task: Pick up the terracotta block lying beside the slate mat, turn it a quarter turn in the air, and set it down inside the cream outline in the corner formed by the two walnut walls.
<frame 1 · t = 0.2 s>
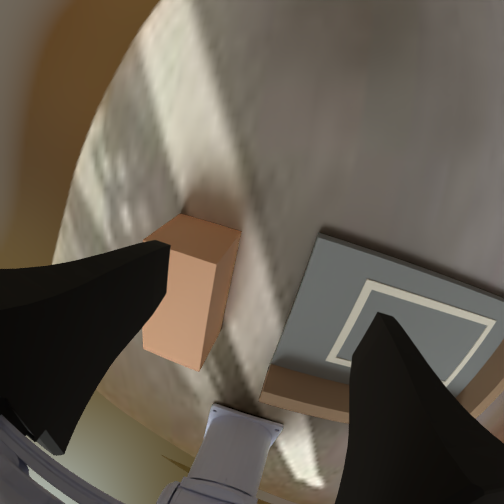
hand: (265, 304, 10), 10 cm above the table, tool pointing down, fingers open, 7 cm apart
terracotta block: (202, 276, 22), on the table
arena: (408, 345, 20), on the table
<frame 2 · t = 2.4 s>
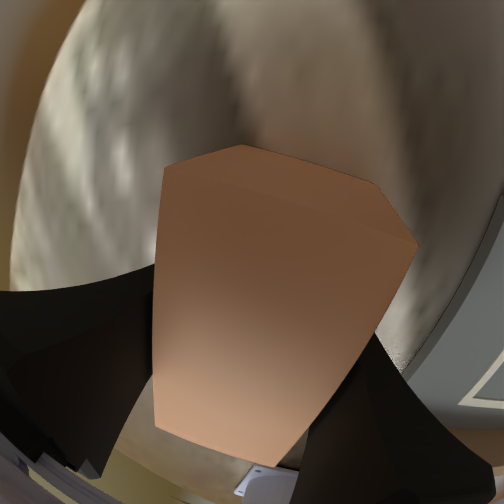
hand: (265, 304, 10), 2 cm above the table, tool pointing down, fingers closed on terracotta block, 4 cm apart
terracotta block: (274, 280, 11), on the table, touching gripper
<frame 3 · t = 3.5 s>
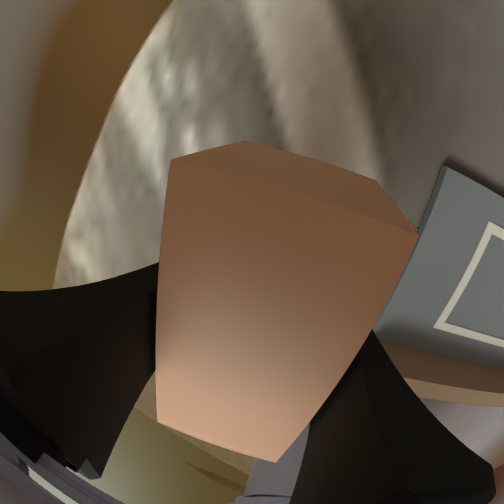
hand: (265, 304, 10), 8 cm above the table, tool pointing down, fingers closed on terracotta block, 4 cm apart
terracotta block: (275, 275, 11), point 6 cm above the table, touching gripper
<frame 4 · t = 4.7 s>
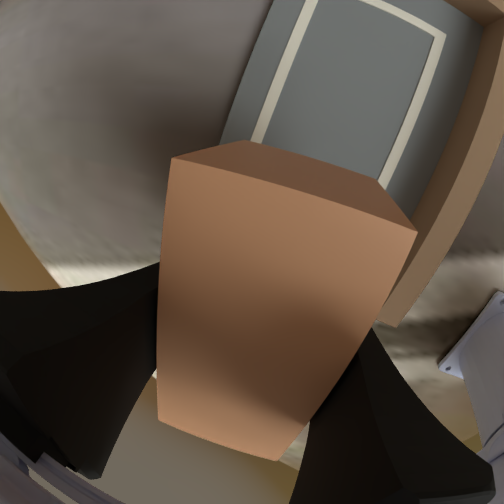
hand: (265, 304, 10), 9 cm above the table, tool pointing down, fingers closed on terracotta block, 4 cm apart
terracotta block: (276, 274, 11), point 7 cm above the table, touching gripper
arena: (365, 99, 14), on the table
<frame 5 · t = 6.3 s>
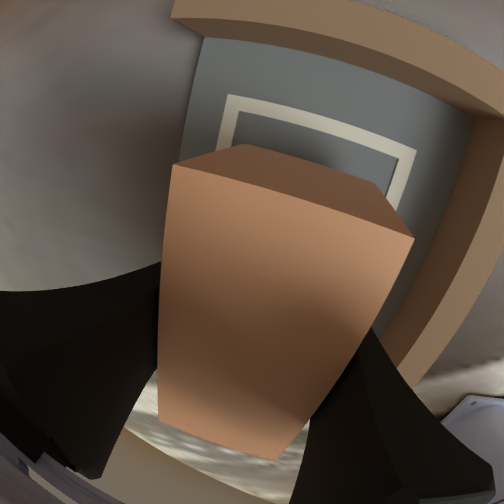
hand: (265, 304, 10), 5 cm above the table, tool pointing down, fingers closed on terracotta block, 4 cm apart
terracotta block: (275, 276, 11), point 3 cm above the table, touching gripper
arena: (306, 254, 14), on the table
when the fingers open (4 cm above the table, at t = 7.3 s): terracotta block drops 1 cm, resting on arena.
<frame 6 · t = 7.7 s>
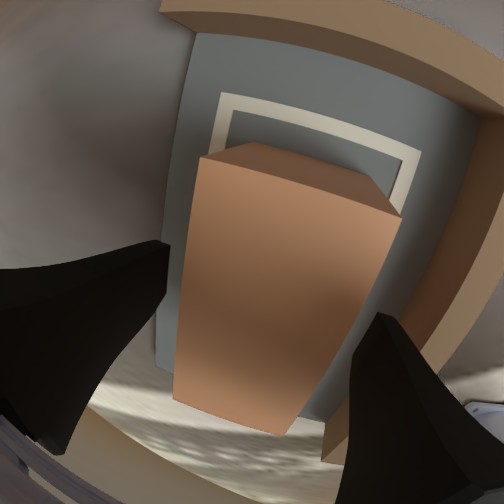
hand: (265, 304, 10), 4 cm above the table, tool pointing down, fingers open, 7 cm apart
terracotta block: (281, 263, 12), point 1 cm above the table, touching arena
arena: (305, 261, 13), on the table
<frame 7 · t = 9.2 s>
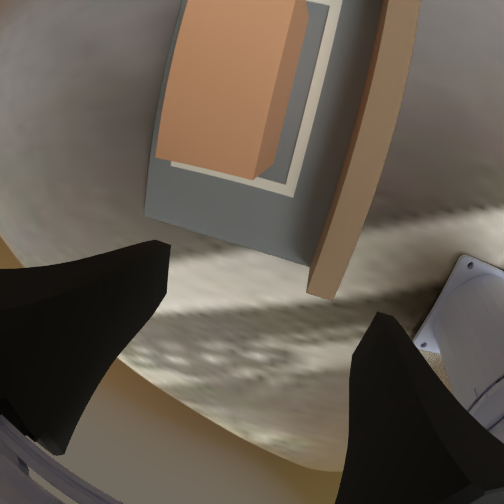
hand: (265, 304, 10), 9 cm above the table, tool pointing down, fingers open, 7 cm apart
terracotta block: (251, 78, 14), point 1 cm above the table, touching arena
arena: (271, 83, 15), on the table
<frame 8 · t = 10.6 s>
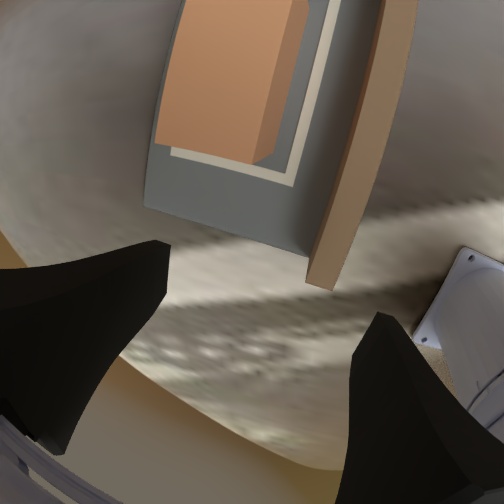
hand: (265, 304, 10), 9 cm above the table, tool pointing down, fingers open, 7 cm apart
terracotta block: (252, 68, 14), point 1 cm above the table, touching arena
arena: (271, 73, 15), on the table
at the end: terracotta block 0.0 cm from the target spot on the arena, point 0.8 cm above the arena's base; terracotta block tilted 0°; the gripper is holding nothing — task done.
